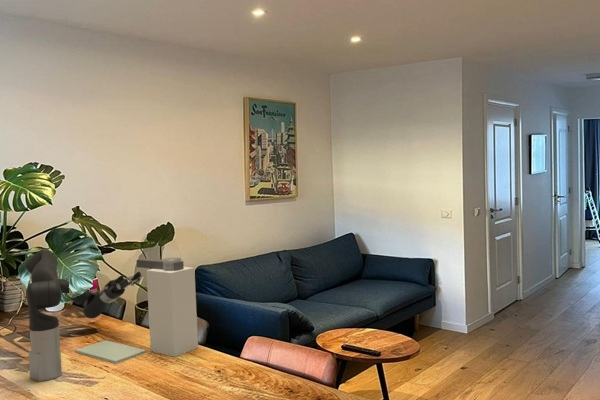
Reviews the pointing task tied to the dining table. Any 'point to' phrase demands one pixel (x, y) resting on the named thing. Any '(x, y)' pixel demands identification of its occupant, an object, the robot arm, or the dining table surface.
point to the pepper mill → (94, 287)
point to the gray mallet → (161, 264)
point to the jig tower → (172, 311)
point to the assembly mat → (110, 351)
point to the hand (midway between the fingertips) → (131, 275)
